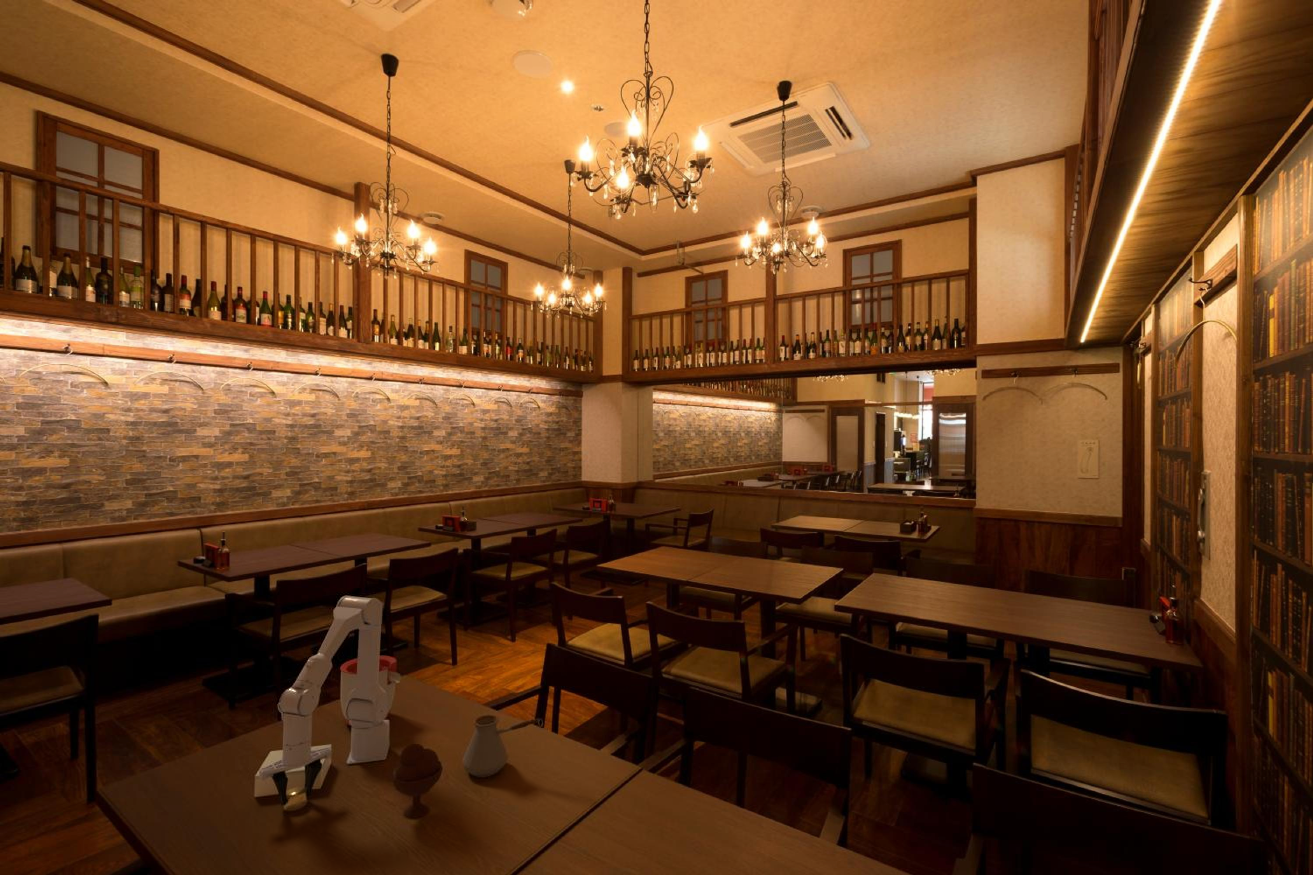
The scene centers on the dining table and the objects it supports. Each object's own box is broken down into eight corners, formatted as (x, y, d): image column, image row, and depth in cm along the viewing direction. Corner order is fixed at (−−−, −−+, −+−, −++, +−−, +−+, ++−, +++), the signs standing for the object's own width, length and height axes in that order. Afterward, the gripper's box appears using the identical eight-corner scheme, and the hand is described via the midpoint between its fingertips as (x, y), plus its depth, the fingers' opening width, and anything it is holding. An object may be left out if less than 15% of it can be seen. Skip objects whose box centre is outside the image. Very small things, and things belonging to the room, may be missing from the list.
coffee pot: (453, 777, 153) (454, 718, 153) (476, 755, 164) (477, 700, 165) (531, 789, 149) (532, 728, 149) (549, 766, 160) (550, 709, 160)
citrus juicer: (387, 731, 177) (389, 663, 177) (328, 731, 176) (330, 662, 177) (408, 708, 192) (410, 645, 193) (353, 707, 192) (355, 644, 192)
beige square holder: (330, 763, 159) (331, 744, 159) (320, 788, 147) (321, 767, 147) (270, 770, 155) (270, 751, 155) (254, 796, 143) (255, 775, 143)
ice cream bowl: (393, 831, 132) (395, 762, 132) (389, 803, 142) (391, 739, 142) (444, 818, 137) (445, 751, 137) (437, 792, 146) (438, 730, 147)
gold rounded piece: (308, 798, 143) (309, 785, 143) (303, 808, 139) (304, 795, 139) (287, 800, 142) (287, 788, 142) (281, 812, 138) (281, 798, 138)
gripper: (325, 724, 149) (323, 779, 148) (256, 744, 138) (254, 804, 138) (335, 734, 144) (333, 791, 144) (265, 755, 133) (263, 817, 133)
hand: (295, 798), depth 140 cm, fingers closed on gold rounded piece, 4 cm apart
